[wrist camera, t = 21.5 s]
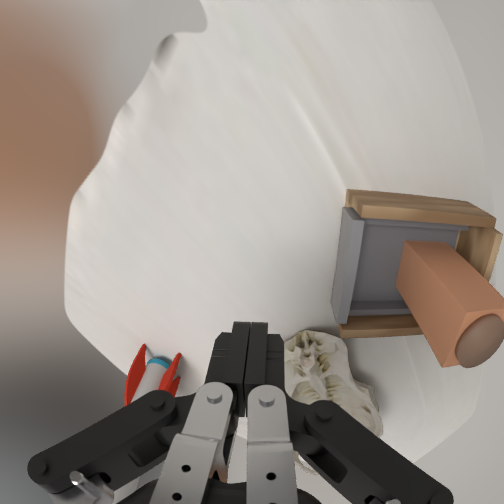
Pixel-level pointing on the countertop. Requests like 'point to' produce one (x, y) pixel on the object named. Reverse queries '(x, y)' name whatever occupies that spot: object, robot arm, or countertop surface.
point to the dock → (423, 210)
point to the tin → (451, 303)
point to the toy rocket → (142, 382)
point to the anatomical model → (327, 379)
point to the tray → (377, 262)
